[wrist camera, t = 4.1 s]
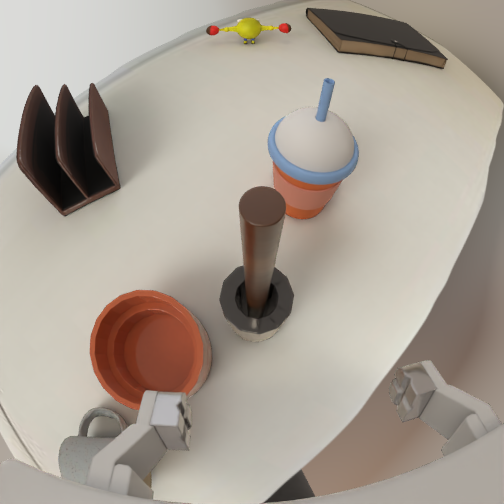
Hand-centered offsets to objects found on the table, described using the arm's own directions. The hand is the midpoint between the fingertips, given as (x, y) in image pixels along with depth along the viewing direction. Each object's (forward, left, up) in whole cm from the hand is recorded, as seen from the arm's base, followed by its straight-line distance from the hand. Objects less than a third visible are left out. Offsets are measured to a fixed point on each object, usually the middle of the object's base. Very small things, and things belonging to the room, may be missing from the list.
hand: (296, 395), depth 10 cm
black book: (+61, -54, -20) cm, 84 cm away
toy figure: (+60, -18, -20) cm, 66 cm away
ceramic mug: (-5, +20, -20) cm, 29 cm away
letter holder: (+37, +17, -20) cm, 46 cm away
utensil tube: (+6, -1, -20) cm, 21 cm away
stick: (+6, -1, -19) cm, 21 cm away
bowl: (+5, +10, -20) cm, 23 cm away
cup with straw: (+18, -11, -20) cm, 29 cm away
